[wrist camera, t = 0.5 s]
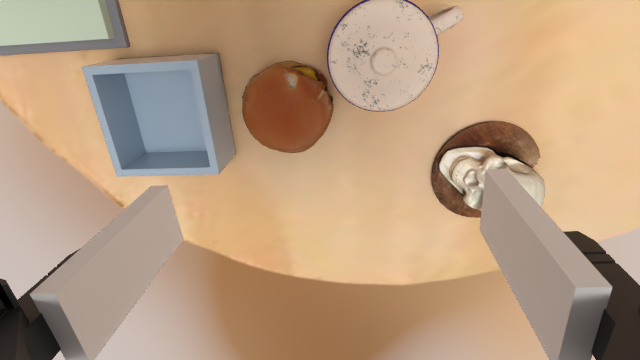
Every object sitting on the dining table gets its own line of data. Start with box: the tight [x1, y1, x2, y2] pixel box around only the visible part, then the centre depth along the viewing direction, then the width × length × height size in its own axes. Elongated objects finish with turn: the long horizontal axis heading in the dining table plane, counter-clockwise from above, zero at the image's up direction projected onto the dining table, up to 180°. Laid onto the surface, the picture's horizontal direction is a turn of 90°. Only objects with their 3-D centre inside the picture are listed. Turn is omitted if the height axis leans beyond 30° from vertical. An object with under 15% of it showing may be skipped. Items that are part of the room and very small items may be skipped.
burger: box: [242, 61, 333, 153], centre depth 40 cm, size 10×9×5 cm
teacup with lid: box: [327, 0, 463, 112], centre depth 33 cm, size 12×9×12 cm
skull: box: [432, 122, 545, 218], centre depth 41 cm, size 12×10×10 cm
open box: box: [82, 53, 236, 177], centre depth 40 cm, size 12×12×6 cm
